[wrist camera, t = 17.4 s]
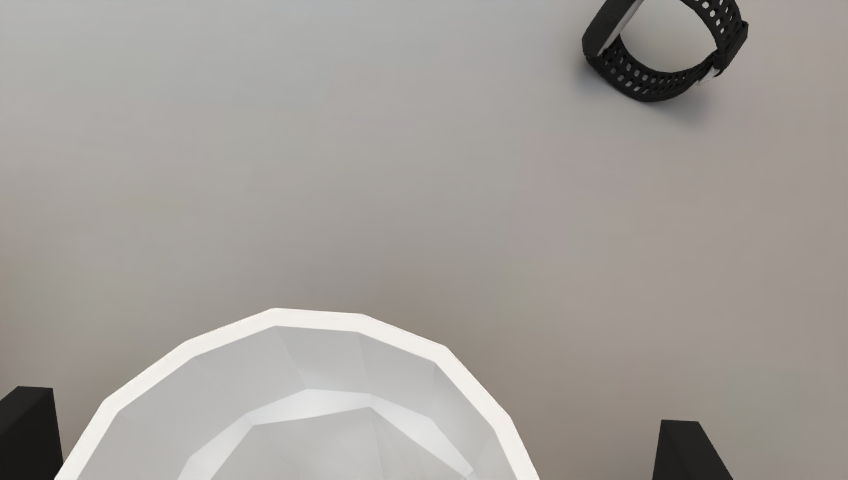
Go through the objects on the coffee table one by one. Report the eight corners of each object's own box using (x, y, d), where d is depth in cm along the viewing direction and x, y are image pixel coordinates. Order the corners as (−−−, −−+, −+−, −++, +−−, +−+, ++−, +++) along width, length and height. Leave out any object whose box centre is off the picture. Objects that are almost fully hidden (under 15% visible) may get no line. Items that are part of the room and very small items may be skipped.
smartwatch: (632, 22, 27) (671, -90, 23) (724, 111, 25) (786, 7, 21) (547, 65, 26) (571, -43, 22) (635, 162, 24) (681, 64, 20)
